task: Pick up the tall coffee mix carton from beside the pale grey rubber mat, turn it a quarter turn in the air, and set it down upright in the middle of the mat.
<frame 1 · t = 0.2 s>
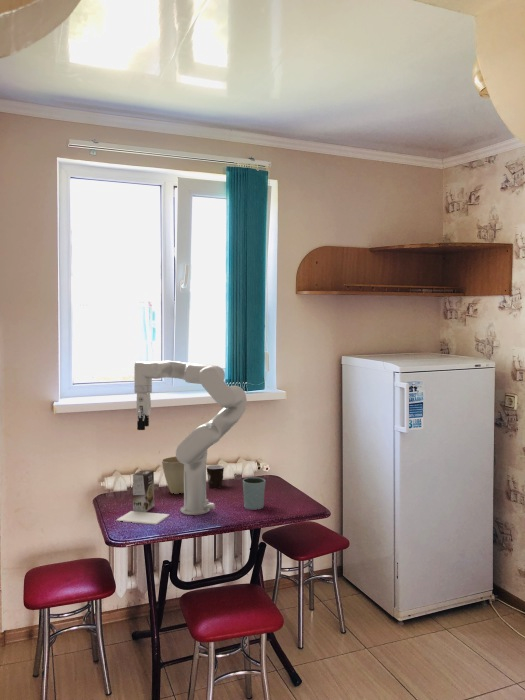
hand: (143, 428, 254), 35 cm above the table, tool pointing down, fingers open, 9 cm apart
coffee box: (143, 509, 252), on the table
coffee mug: (215, 488, 287), on the table
teal cup: (254, 507, 254), on the table
plant pot: (177, 492, 279), on the table
mat: (143, 518, 239), on the table
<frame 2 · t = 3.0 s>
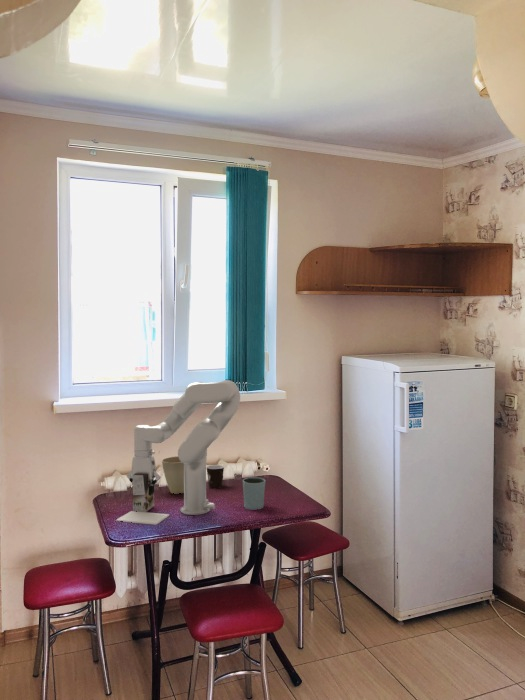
hand: (143, 493, 252), 7 cm above the table, tool pointing down, fingers closed on coffee box, 6 cm apart
coffee box: (143, 509, 252), on the table, touching gripper
everything else where it was.
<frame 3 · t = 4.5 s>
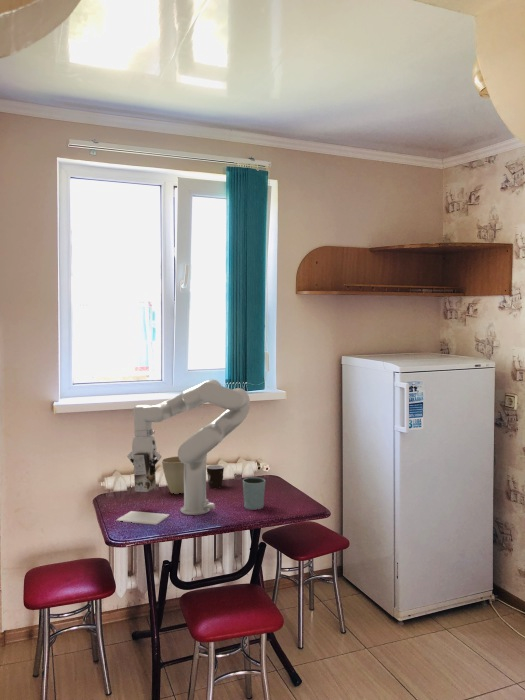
hand: (145, 473, 252), 16 cm above the table, tool pointing down, fingers closed on coffee box, 6 cm apart
coffee box: (145, 489, 252), point 9 cm above the table, touching gripper
everything else where it was.
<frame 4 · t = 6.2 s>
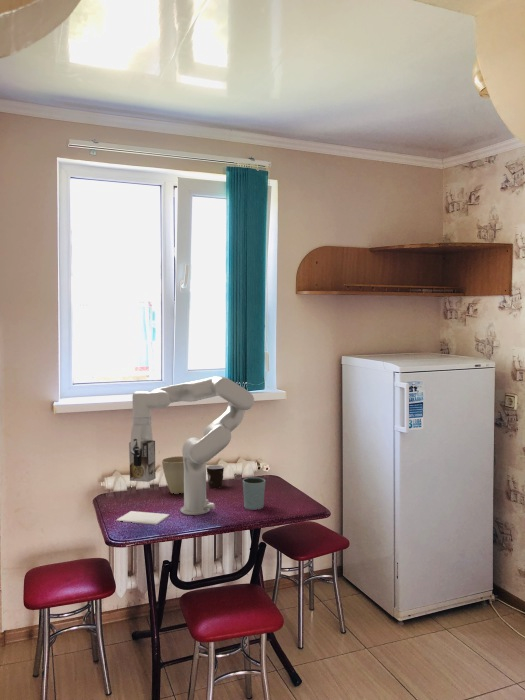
hand: (142, 463, 240), 23 cm above the table, tool pointing down, fingers closed on coffee box, 6 cm apart
coffee box: (142, 480, 240), point 16 cm above the table, touching gripper
everything else where it was.
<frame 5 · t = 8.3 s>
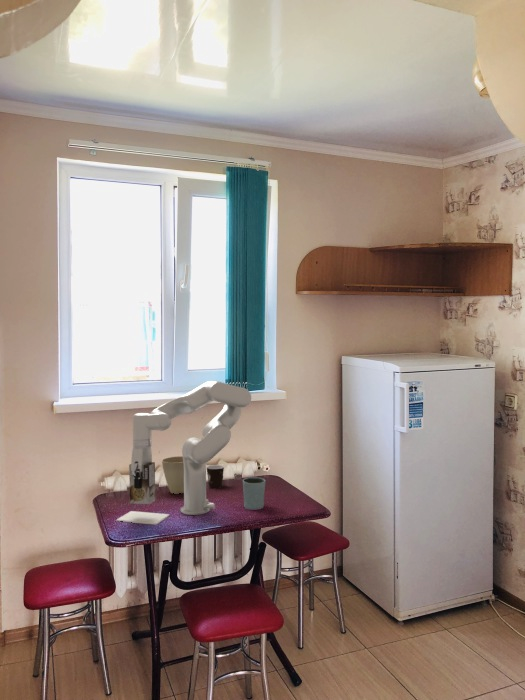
hand: (142, 485, 238), 14 cm above the table, tool pointing down, fingers closed on coffee box, 6 cm apart
coffee box: (142, 502, 239), point 7 cm above the table, touching gripper
everything else where it was.
when the fingers open (9 cm above the table, at t = 9.8 s): coffee box drops 1 cm, resting on mat.
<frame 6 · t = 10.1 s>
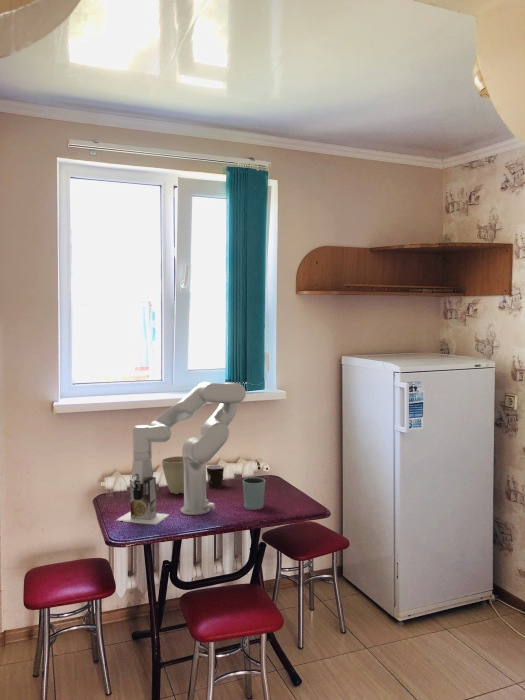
hand: (143, 496, 239), 9 cm above the table, tool pointing down, fingers open, 9 cm apart
coffee box: (143, 517, 239), resting on mat
everything else where it was.
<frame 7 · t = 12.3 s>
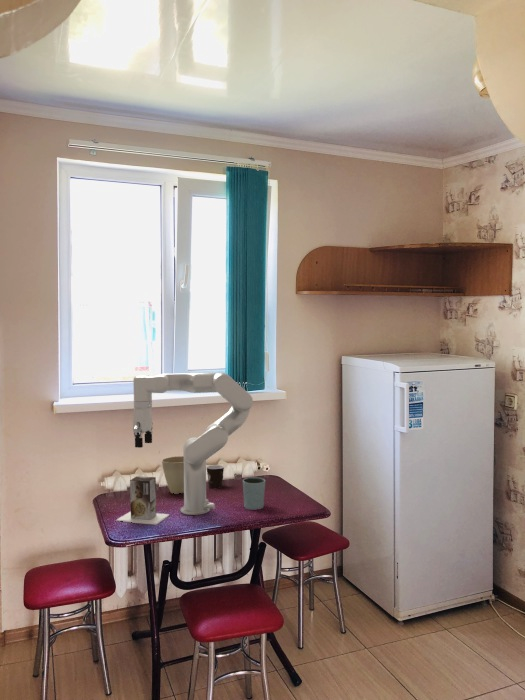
hand: (143, 445, 244), 29 cm above the table, tool pointing down, fingers open, 9 cm apart
nothing on the table moved.
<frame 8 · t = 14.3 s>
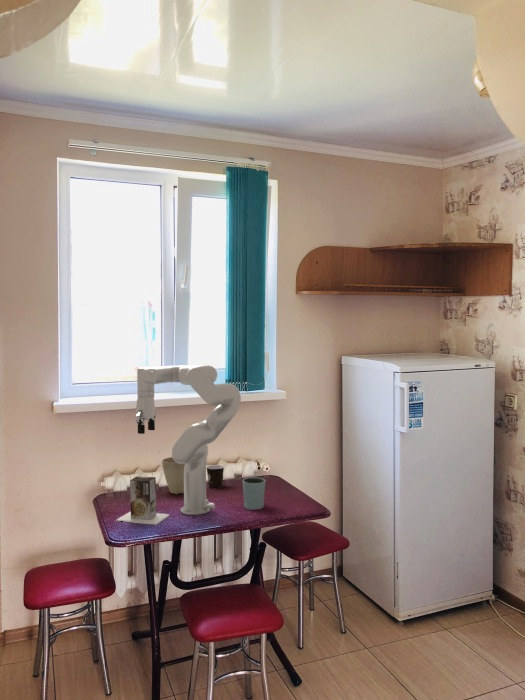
hand: (146, 431, 261), 32 cm above the table, tool pointing down, fingers open, 9 cm apart
nothing on the table moved.
at the end: coffee box inside the target area on the mat (0.1 cm from its centre), point 0.4 cm above the mat's base; coffee box tilted 0°; the gripper is holding nothing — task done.
